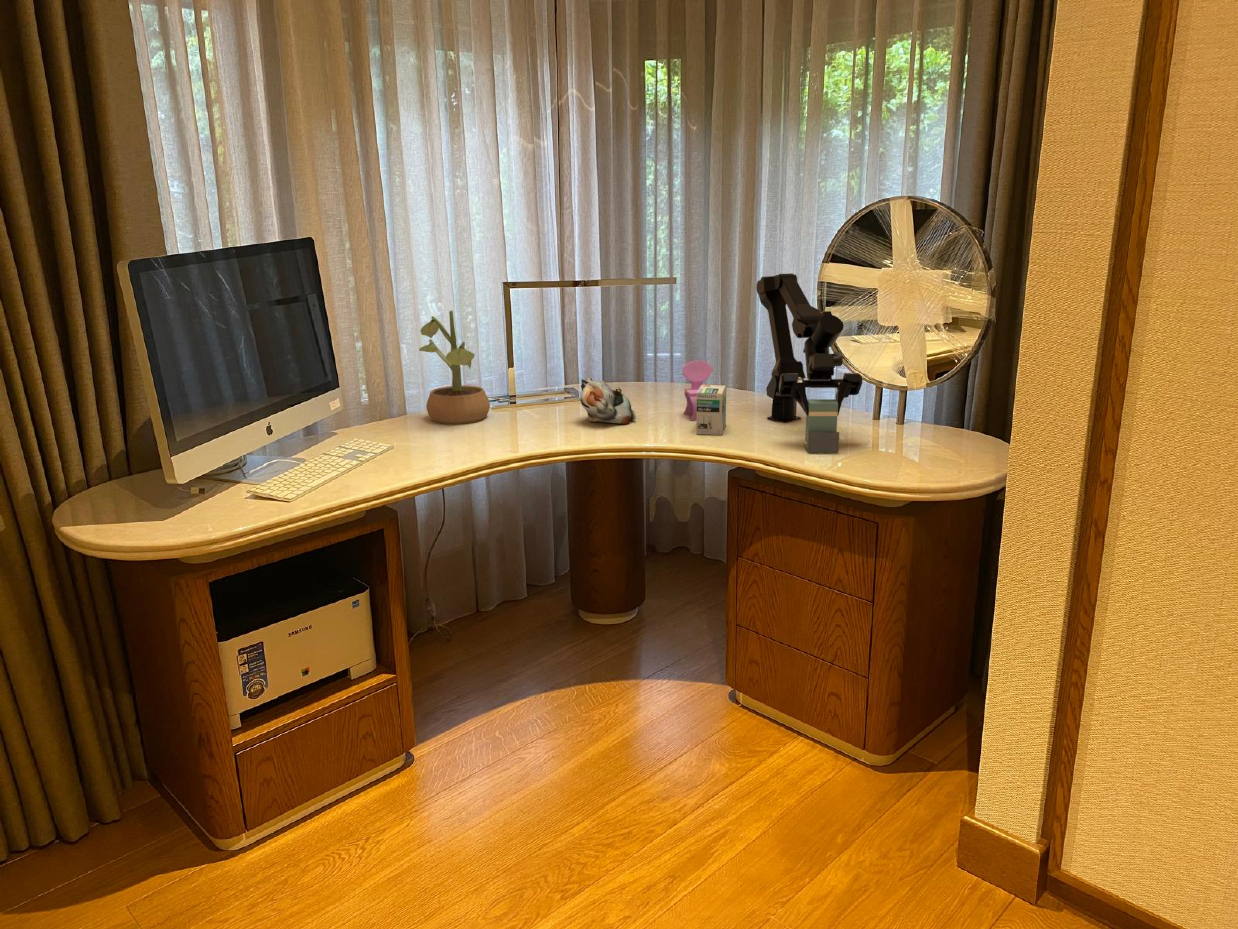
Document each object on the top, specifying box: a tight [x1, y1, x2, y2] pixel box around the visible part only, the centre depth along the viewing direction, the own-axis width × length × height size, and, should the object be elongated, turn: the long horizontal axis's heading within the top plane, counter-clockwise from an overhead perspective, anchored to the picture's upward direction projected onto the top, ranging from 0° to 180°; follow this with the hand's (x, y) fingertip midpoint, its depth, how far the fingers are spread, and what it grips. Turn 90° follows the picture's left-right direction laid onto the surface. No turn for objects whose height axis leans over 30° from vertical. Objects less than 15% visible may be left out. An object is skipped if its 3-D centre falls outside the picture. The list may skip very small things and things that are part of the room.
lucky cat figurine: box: [580, 377, 637, 426], centre depth 243 cm, size 15×12×14 cm
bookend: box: [802, 431, 840, 455], centre depth 216 cm, size 7×7×5 cm
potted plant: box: [418, 309, 491, 425], centre depth 244 cm, size 22×18×30 cm
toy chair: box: [681, 359, 713, 422], centre depth 247 cm, size 8×9×15 cm
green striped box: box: [804, 398, 839, 445], centre depth 215 cm, size 4×6×10 cm, turn 87°
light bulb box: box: [695, 384, 727, 436], centre depth 234 cm, size 11×7×11 cm, turn 168°
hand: (822, 414), depth 213 cm, fingers closed on green striped box, 6 cm apart
